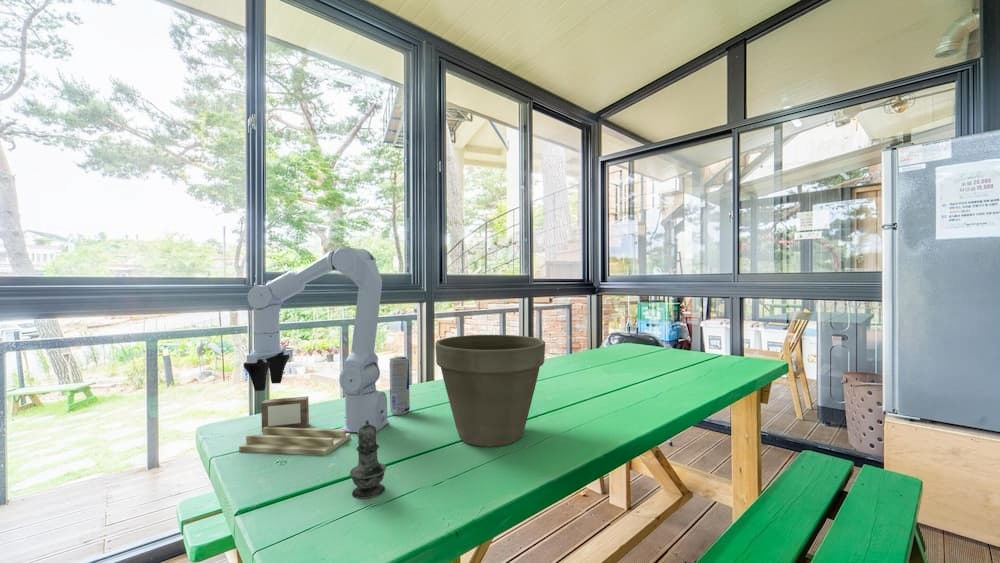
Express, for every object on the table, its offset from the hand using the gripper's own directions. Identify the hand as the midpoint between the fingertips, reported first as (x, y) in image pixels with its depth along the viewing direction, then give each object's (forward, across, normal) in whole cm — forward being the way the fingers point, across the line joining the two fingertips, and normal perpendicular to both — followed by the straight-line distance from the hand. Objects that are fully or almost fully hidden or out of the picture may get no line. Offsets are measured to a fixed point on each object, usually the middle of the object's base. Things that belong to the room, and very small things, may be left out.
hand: (268, 386), depth 107 cm
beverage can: (+10, -8, +31) cm, 34 cm away
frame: (+10, +2, +5) cm, 11 cm away
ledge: (+10, +14, +14) cm, 22 cm away
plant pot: (+10, +11, +57) cm, 58 cm away
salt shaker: (+10, +36, +36) cm, 52 cm away
